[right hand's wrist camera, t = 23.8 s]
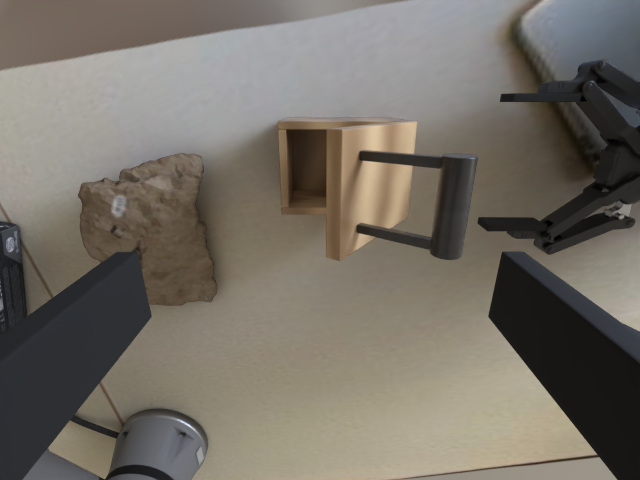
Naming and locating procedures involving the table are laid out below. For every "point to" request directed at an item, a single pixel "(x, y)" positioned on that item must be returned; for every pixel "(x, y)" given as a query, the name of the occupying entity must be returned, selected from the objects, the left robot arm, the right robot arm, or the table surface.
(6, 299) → the graphics card box
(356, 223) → the lid
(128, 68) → the table surface
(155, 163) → the stone
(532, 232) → the left robot arm
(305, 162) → the chest
